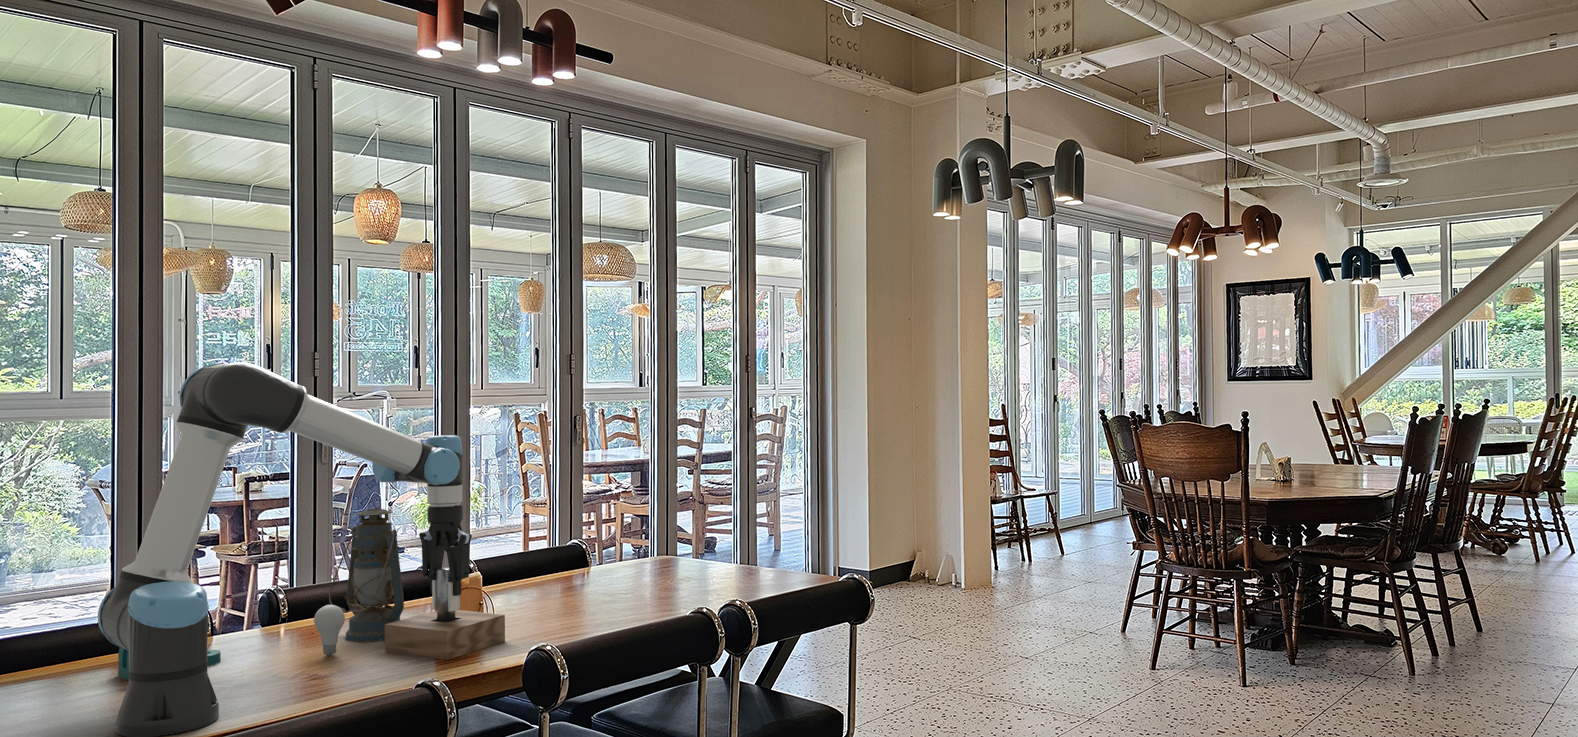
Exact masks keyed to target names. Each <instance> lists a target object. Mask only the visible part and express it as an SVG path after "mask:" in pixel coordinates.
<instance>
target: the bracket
mask: <svg viewBox="0 0 1578 737" xmlns="http://www.w3.org/2000/svg"><path fill="white" fill-rule="evenodd" d="M117 654H118V655H117V657H118V660H117V661H118V662H117V663H118V664H117V665H118V666H117V668H118V672H117V674H118V677H120V678H122V679H124V680H127V681H129V651H128V650H126V649H122V648H120V647H119V648H118V653H117ZM221 654H222V652H221V650H219V649H207V667H210V666H214V665H217V664H219V663H221Z"/></svg>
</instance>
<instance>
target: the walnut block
mask: <svg viewBox="0 0 1578 737" xmlns="http://www.w3.org/2000/svg"><path fill="white" fill-rule="evenodd" d="M504 642H506V614H501V613H491V612H490V613H489V612H483V611H482V612H481V611H473V610H472V611H471V610H460V609H458V610H456V620H454V621H450V622H447V623H444V622H437V610H433V611H432V612H427V613H423V614H419V615H415V616H412V617H409V618H403V619H400V621H396V622H392V623H388V624H385V640H384V653H390V654H396V655H397V654H399V655H407V656H413V657H421V658H428V659H435V658H436V659H437V660H443V659H449V660H452V659H454V658H457V657H460V656H464V655H466V654H470V653H473V652H476V651H479V650H482V649H486V648H488V647H489V648H490V647H492V646H495V645H498V644H501V643H504ZM451 658H452V659H451Z"/></svg>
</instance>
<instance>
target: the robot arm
mask: <svg viewBox="0 0 1578 737" xmlns="http://www.w3.org/2000/svg"><path fill="white" fill-rule="evenodd" d="M179 403H180V404H179V405H180V408H181V409H180V411H179V415H178V417H177V420H176V423H175V425H176V427H177V429H178V430H179V432H180V438H179V440H178V443H177V447H176V448H175V451H174V454H173V456H172V460H171V462H170V465H169V468H168V471H167V473H166V476H165V478H164V481H163V484H162V487H161V489H160V492H159V494H158V498H157V500H156V503H155V505H154V507H153V508H154V509H153V512H152V514H151V517H150V520H149V521H148V525H147V528H146V529H145V533H144V535H143V538H142V541H141V544H140V546H139V549H138V552H137V554H136V557H135V560H134V561H133V562H132V563H130V564H128V565H126V566H124V567H122V568H121V571H120V573H119V576H118V579H117V582H116V584H115V586H114V587H113V588H112V589H110V590H109V591H108V593H107V594H106V595H105V596H104V597H103V598H102V599H101V600H102V601H101V602H100V605H99V606H98V607H99V608H98V611H97V624H98V627H99V629H100V631H101V633H102V634H103V636H105V638H106V639H107V640H108V641H109V642H110V643H111V644H112V645H114V646H115V647H118V648H119V649H120V648H122V649H126V650H128V651H129V680H128V684H127V687H126V691H125V694H124V697H123V698H122V699H123V700H122V703H121V705H120V709H119V711H118V713H117V716H116V725H115V726H116V733H117V734H118V735H120V736H123V737H162V736H161V735H164V736H169V735H168V734H170V735H174V734H173V733H176V734H181V733H185V731H186V732H190V731H193V730H196V729H200V728H203V727H204V726H205V727H206V726H207V725H210V724H212V723H214V722H215V721H216V720H218V719H219V715H220V712H219V711H220V705H219V700H218V698H217V696H216V693H215V690H214V687H213V684H212V681H211V679H210V677H209V674H208V666H207V650H208V640H209V639H208V626H209V625H208V621H209V618H208V617H209V616H208V615H209V614H208V613H209V609H210V608H209V607H210V606H209V602H208V593H207V591H206V589H205V588H204V587H203V586H201V585H199V584H197V583H194V582H193V580H192V578H191V576H189V573H188V568H189V565H190V564H191V560H192V558H193V555H194V552H195V549H196V547H197V543H198V540H199V538H200V534H201V533H202V529H203V527H204V524H205V520H206V518H207V515H208V512H209V510H210V507H211V504H212V502H213V498H214V495H215V493H216V490H217V487H218V484H219V481H220V478H221V475H222V473H223V470H224V467H225V464H226V462H227V459H228V456H229V453H230V450H231V448H232V447H233V446H235V445H237V444H239V443H241V442H242V441H243V440H244V437H245V434H246V433H247V432H246V431H247V429H248V426H251V427H253V426H254V427H257V428H258V427H259V428H264V429H267V430H271V431H273V432H276V433H279V434H285V433H286V432H291V433H294V434H296V435H300V436H302V437H305V438H307V439H310V440H313V441H315V442H318V443H321V444H323V445H326V446H329V447H331V448H334V449H336V450H339V451H342V452H345V453H347V454H348V455H349V454H350V455H352V456H355V457H358V458H361V459H362V460H366V461H369V462H371V464H372V465H371V466H372V474H373V476H374V478H375V479H376V480H377V482H380V483H392V484H393V483H398V482H403V483H405V482H407V483H418V484H427V487H426V488H427V491H426V492H427V495H426V498H427V500H426V502H427V504H429V506H428V507H427V509H426V510H427V522H428V523H429V524H430V525H429V527H428V529H427V531H423V532H420V533H419V539H420V540H419V541H420V543H421V562H422V564H421V565H422V575H423V577H427V578H428V579H429V580H430V584H429V585H430V589H429V590H430V594H432V596H431V597H432V600H431V604H432V608H431V609H432V610H433V611H437V576H436V569H439V568H443V563H444V562H443V561H444V556H445V552H446V557H447V561H448V562H447V563H448V567H449V570H450V577H451V579H450V580H449V582H448V611H450V612H451V611H455V610H460V608H461V607H460V603H461V602H460V601H461V600H460V599H461V598H460V597H461V595H462V580H464V579H467V578H469V576H470V553H471V552H470V551H471V550H470V549H471V548H470V545H471V541H472V538H473V535H472V533H466V532H464V531H463V529H462V526H461V523H462V521H463V519H464V516H463V514H464V512H463V511H464V508H463V507H464V506H463V505H462V504H461V503H462V502H463V456H464V455H463V454H464V453H463V444H462V438H461V437H460V436H459V435H455V434H451V435H449V434H446V435H443V434H442V435H429V436H428V437H427V439H426V442H424V441H421V440H419V439H416V438H415V437H412V436H410V435H407V434H405V433H402V432H399V431H397V430H395V429H392V428H390V427H387V426H385V425H382V424H381V423H378V422H375V421H373V420H370V419H368V418H367V417H366V418H365V417H363V416H361V415H359V414H356V413H354V412H351V411H349V410H347V409H344V408H341V407H339V406H337V405H334V404H332V403H330V402H327V401H324V400H323V399H320V398H317V397H315V396H314V395H313V396H312V395H311V394H308V393H307V389H306V387H305V386H303V385H300V384H298V383H296V382H293V381H291V380H289V379H287V378H286V377H282V376H281V375H279V374H277V373H274V372H272V371H270V370H267V369H266V368H264V367H261V366H259V365H256V364H253V363H250V362H249V363H248V362H232V363H231V362H230V363H222V362H221V363H220V362H219V363H212V364H208V365H204V366H202V367H201V368H198V369H196V370H195V371H192V373H190V374H189V375H188V376H187V377H186V379H185V380H184V381H183V383H182V386H181V387H180V390H179ZM180 732H181V733H180ZM166 734H167V735H166Z"/></svg>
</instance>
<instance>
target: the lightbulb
mask: <svg viewBox="0 0 1578 737" xmlns="http://www.w3.org/2000/svg"><path fill="white" fill-rule="evenodd" d="M341 608H342V607H340V606H338V605H335V604H332V605H331V604H326V605H324V606H322V607H321V608H319V609H318V610H317V611H316V613H315V614H314V619H313V622H314V626H315V628H316V630H317V632H318V633H319V636H320V640H321V645H322V652H323V655H324V656H327V657H333V655H334V654H336V652H337V644H338V638H339V634H340V632H341V630H342V628H343V626H344V624H345V621H346V619H345V618H346V616H345V615H346V614H345V612H344V610H342V609H341Z"/></svg>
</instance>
